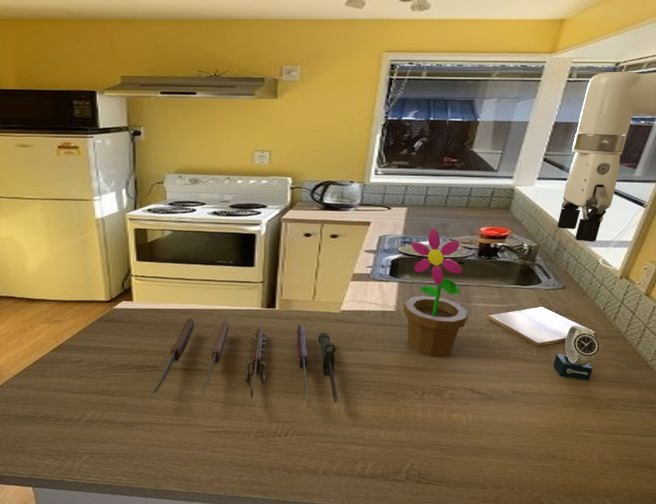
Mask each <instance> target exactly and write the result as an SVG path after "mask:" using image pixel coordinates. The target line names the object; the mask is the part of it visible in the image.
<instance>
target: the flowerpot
mask: <svg viewBox="0 0 656 504" xmlns="http://www.w3.org/2000/svg"><path fill="white" fill-rule="evenodd" d="M427 238H428V246H429V247H430V248H429V247H428V246H427V245H426V244H424V243H422V242H419V241H417V242H416V241H413V242H412V243H411V247H412V249H413V250H414V252H416V253H417V254H418V255H421V256H427V258H423V259H421V260H419V261H418V262H416V264H415V266H414V268H413V270H414V272H415V273H423V272H424V271H426V270H428V269H430V267H431V265H433V267H432V269H431V276H432V277H431V278H432V280H433V281H434V283H435V285H436V288H435V287H433V286H429V285H427V286H421V287H420V290H421V291H422V292H424V293H425V294H426V295H417V296H412V297H409V298H407V299H406V301H405V302H404V303H403V313H404V314H405V317H406V318H407V343H408V345H409V347H410V348H411V350H413V351H415V352H416V353H418V354H420V355H421V354H422V355H424V356H428V357H435V358H436V357H437V358H441V357H446V356H449V355H450V354H451V353H452V351H453V348H454V345H455V342H456V339H457V336H458V333H459V330H460V329H461V328H464V327H465V325H466V324H467V321H468V315H469V312H468V311H467V309H466V308H465V307H464V306H463V305H461V304H459V303H457V302H455V301H454V300H453V301H452V300H450V299H446V298H442V297H441V289H443V290H444V291H445V292H446V293H448V294H451V295H459V294H460V292H461V291H460V290H459V289H460V288H459V287H458V285H457V284H456V282H454V281H453V280H451V279H450V278H444V271H443V270H444V269H445V270H447V271H449V272H450V273H452V274H461V273H462V271H463V269H462V267H461V266H460V264H459V262H456V261H455V260H453V259H451V258H445V257H444V256H450V255H452V254H453V253H455V252H456V251H457V250H458V249H459V247H460V245H461V243H460V242H459V240H452V241H451V240H450V241H449V242H446V244H444V245H442V247H441V249H439V248H440V247H439V246H440V245H441V241H440V239H441V238H440V234H439V233H438V231H437V230H436V229H435V228H432V229H430V231H429V234H428V236H427ZM430 249H431V250H430ZM443 268H444V269H443Z"/></svg>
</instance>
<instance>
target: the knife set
mask: <svg viewBox="0 0 656 504" xmlns="http://www.w3.org/2000/svg"><path fill="white" fill-rule="evenodd" d="M186 319H187V320H186V321H185V323H184V325H183V328H182V330H181V332H180V334H179V336H178V337H177V340H176V342H175V343H174V345H173V346H172V348H171V350H170V353H171V354H170V355H171V356H170V358H169V361H168V362H167V365H166V367H165V369H164V371H163V373H162V375H161V376H160V378H159V380H158V382H157V384H156V386H155V387H154V389H153V391H152V394H151V395H153V394H155V393H156V392H157V391H159V389H160V388H161V386H162V384H163V383H164V382H165V379H166V378H167V375H169V372H170V369H171V368H172V366H173V364H175V362H178V361H180V358H181V357H182V355H183V354H184V352H185V350H186V348H187V345H188V343H189V340H190V338H191V335H192V333H193V331H194V329H195V328H194V327H195V326H194V325H195V324H194V322H195V321H194V318H189V317H188V318H186ZM305 329H306V328H305V325H303V324H298V325H297V329H296V339H297V340H296V343H297V357H298V359H297V361H298V367H299V368H300V369H302V371H303V382H304V383H303V384H304V391H305V392H304V393H305V400H306V402H309V396H308V384H307V372H306V369H307V367H308V362H309V360H308V351H307V341H306V330H305ZM228 333H229V321H228V320H222V321H221V323H220V327H219V331H218V333H217V334H218V335H217V338H216V342H215V344H214V346H213V349H212V351H211V364H210V368H209V371H208V373H207V377H206V380H205V382H204V386H203V389H202V391H201V393H202V394H204V393H205V391H206V389H207V386H208V383H209V380H210V378H211V376H212V375H211V374H212V371H213V368H214V365H216V364H219V363H220V361H221V358H222V356H223V352H224V349H225V345H226V340H227V337H228ZM253 335H254V336H255V337H251V339H252V340H255V341H254V342H251V343H250V345H254V348H250V349H249V350H250V351H253V354H252V355H248V357H249V358H252V360H250V361H247V363H246V370H245V371H246V372H245V377H244V378H245V379H244V382H248V381H249V375H250V365H252V367H251V369H252V371H253V379H252V386H251V389H250V398H251V399H253V397H254V392H255V391H254V390H255V385H256V384H255V383H256V378H257V377H256V376H257V375H256V374H257V372H260V370H261V366H262V372H261V373H262V374H261V382H262V384H263V383H265V380H266V367H267V366H266V363H265V362H263V361H262V359H264V358H266V356H264V355H262V353H263V352H267V349H263V346H267V345H268V344H267V343H265V342H264V341H267V340H268V339H267V338H264V336H268V334H266V333H265V332H264V329H263V328H257V329H256V332H255V333H253ZM330 339H331V338H330V335H329V334H328V333H327V332H321V333H320V334H319V335H318V344H319V345H320V352H321V359H322V372H323V375H328V376H329V379H330V380H329V381H330V386H331V393H332V398H333V402H334V403H335V404H338V403H339V397H338V393H337V387H336V382H335V381H336V380H335V377H334V368H335V361H336V360H335V353H336V350H337V349H336V345H335V344H334V343H333V342H331V340H330Z"/></svg>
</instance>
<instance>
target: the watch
mask: <svg viewBox="0 0 656 504" xmlns="http://www.w3.org/2000/svg"><path fill="white" fill-rule="evenodd" d="M589 329H590V328H588V327H586V326H583V327H579V326H572V327H571V328H570V329H569V331H568V334H567V336H566V341H565V342H564V344H565V345H564V350H565V352H564V353H566V354H561V353H559V354H558V353H556V355H555V359H554V361H553V364H552V365H553V368H554V369H555V371H556V372H557V374H558V375H559V376H560V377H562V378H569V379H576V380H582V381H590V380H591V379H590V378H591V375H592V372H593V370H594V369H593V366H592V365H591V364H590V362H591V360H594V358H595V356H596V355H597V354H598V353H599V351H600V349H602V345H601V344H600V342H599V340H598V339H597V337H595V336H596V335H595V336H594V334H593V333H592V332H591V331H590V330H591V329H590V330H589Z"/></svg>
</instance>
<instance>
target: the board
mask: <svg viewBox="0 0 656 504" xmlns="http://www.w3.org/2000/svg"><path fill="white" fill-rule="evenodd" d="M487 319H488V320H490V321H492V322H494V323H495V324H497V325H499V326H501V327H503V328H504V329H506V330H508V331H510V332H511V333H513V334H515V335H517V336H518V337H520V338H522V339H524V341H525V340H526V341H527V342H529V343H530V344H532V345H534V346H536V347H543V346H549V345H553V344H558V343H565V342H566V336H567V334H568V331H569V329H570V328H571V327H572V326H579V327H584V326H583V325H581V324H579V323H577V322H575V321H572V320H570V319H568V318H566V317H564V316H562V315H560V314H557V313H556V312H554V311H551V310H549V309H547V308H545V307H543V306H539V307H534V308H527V309H521V310H514V311H508V312H501V313H495V314H489V315H488V317H487ZM588 329H589V330H590V331H591V332H592V333H593V334H594V336H596V333H597V332H596V331H594V330H592V329H590V328H588Z"/></svg>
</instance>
